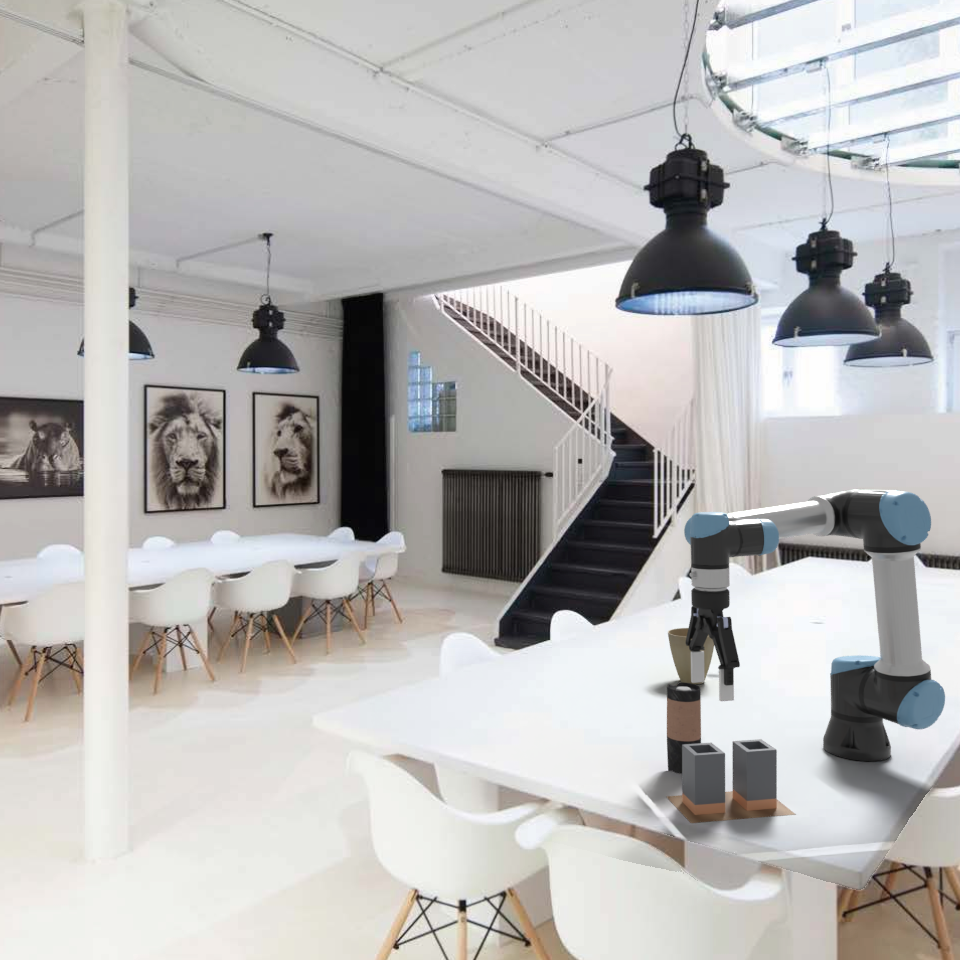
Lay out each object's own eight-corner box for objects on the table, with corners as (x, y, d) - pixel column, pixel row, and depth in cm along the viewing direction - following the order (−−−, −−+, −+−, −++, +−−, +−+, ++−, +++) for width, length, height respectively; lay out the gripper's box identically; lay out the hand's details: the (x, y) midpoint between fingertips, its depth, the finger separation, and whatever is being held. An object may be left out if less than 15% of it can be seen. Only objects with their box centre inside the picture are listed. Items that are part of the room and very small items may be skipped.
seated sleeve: (761, 795, 177) (761, 739, 177) (776, 808, 171) (776, 749, 170) (732, 798, 176) (732, 741, 176) (747, 810, 170) (746, 751, 169)
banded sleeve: (711, 799, 175) (711, 742, 175) (725, 812, 169) (725, 753, 169) (682, 801, 174) (682, 744, 174) (694, 814, 168) (694, 755, 168)
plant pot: (711, 675, 277) (711, 627, 277) (719, 688, 262) (719, 637, 262) (665, 675, 279) (665, 627, 278) (671, 687, 264) (670, 636, 263)
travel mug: (698, 781, 188) (698, 692, 188) (664, 777, 191) (664, 689, 190) (703, 769, 195) (702, 683, 195) (669, 765, 198) (669, 680, 198)
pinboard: (763, 794, 181) (763, 756, 180) (795, 820, 168) (795, 779, 168) (666, 802, 177) (665, 763, 177) (691, 829, 164) (690, 787, 164)
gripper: (669, 579, 184) (670, 676, 185) (720, 599, 159) (721, 710, 160) (701, 578, 185) (703, 673, 186) (757, 597, 160) (758, 707, 161)
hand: (711, 691), depth 173 cm, fingers open, 13 cm apart
